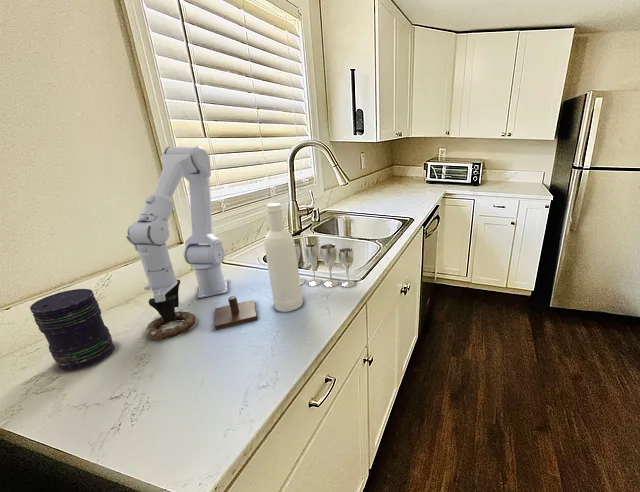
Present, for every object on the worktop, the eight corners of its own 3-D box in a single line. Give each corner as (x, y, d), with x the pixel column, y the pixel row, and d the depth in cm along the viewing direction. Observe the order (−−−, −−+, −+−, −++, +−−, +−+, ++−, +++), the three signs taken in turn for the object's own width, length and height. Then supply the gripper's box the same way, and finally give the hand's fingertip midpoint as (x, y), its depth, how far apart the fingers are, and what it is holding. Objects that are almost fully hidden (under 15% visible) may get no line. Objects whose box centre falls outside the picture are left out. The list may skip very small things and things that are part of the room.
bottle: (268, 309, 93) (249, 206, 82) (286, 296, 100) (270, 200, 89) (292, 314, 90) (276, 208, 80) (308, 300, 97) (295, 201, 87)
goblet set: (357, 280, 110) (354, 243, 105) (353, 288, 104) (350, 249, 100) (278, 277, 113) (272, 241, 108) (270, 285, 107) (263, 247, 102)
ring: (151, 323, 87) (148, 316, 86) (197, 313, 91) (195, 306, 90) (143, 346, 78) (140, 337, 77) (195, 333, 82) (192, 325, 82)
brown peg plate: (216, 311, 92) (211, 294, 90) (254, 303, 96) (250, 286, 94) (215, 329, 84) (210, 310, 82) (257, 319, 88) (253, 301, 86)
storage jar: (103, 338, 81) (81, 285, 75) (124, 350, 76) (102, 294, 71) (49, 363, 73) (20, 304, 67) (69, 377, 68) (39, 316, 63)
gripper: (144, 260, 87) (158, 305, 92) (132, 281, 75) (149, 331, 79) (176, 256, 90) (188, 299, 95) (168, 275, 78) (182, 324, 82)
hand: (172, 313), depth 87 cm, fingers open, 7 cm apart
